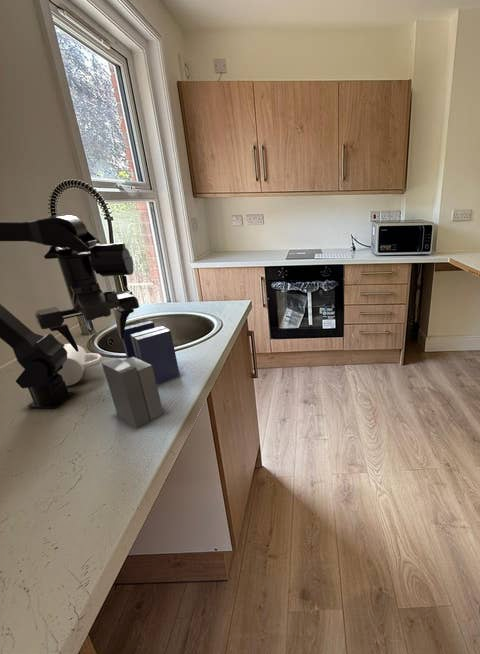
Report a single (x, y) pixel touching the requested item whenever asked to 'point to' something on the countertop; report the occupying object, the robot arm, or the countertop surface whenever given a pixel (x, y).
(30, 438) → the countertop surface
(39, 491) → the countertop surface
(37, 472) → the countertop surface
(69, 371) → the mug
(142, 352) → the navy books
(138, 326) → the navy book
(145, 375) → the grey books
